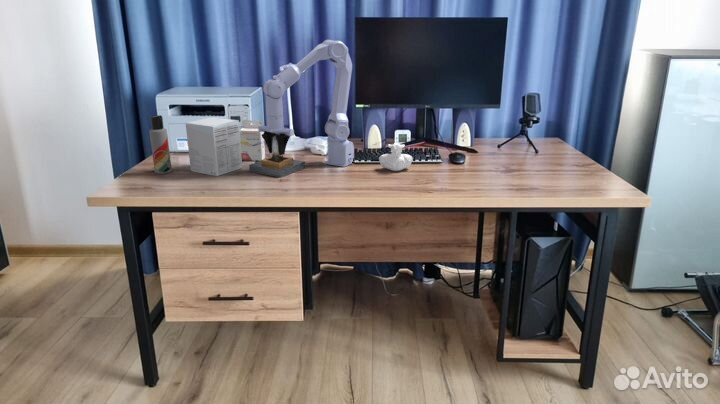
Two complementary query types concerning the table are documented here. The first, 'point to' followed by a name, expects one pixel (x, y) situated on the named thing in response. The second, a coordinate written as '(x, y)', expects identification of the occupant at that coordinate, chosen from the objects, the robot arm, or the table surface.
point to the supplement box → (214, 146)
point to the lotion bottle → (160, 146)
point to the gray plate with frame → (277, 166)
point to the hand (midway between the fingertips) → (276, 153)
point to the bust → (395, 158)
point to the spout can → (275, 150)
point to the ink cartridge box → (252, 141)
